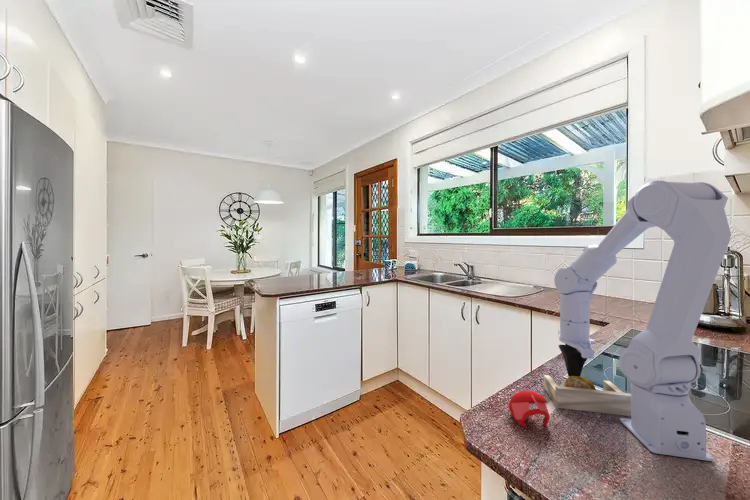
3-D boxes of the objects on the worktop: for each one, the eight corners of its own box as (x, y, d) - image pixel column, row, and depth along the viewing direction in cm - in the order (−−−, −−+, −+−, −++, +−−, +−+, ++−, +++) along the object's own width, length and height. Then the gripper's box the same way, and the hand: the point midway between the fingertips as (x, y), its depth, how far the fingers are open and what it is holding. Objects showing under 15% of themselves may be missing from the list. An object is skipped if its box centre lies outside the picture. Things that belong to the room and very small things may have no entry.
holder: (634, 416, 57) (634, 396, 57) (557, 407, 60) (557, 388, 60) (609, 394, 66) (609, 376, 66) (543, 387, 69) (543, 370, 69)
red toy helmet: (564, 416, 52) (547, 385, 57) (536, 408, 51) (522, 377, 56) (535, 437, 56) (521, 406, 61) (509, 430, 55) (497, 400, 60)
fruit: (547, 391, 67) (547, 375, 67) (569, 383, 71) (569, 368, 71) (586, 409, 60) (586, 391, 60) (608, 399, 63) (608, 382, 63)
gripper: (611, 330, 60) (610, 395, 60) (580, 313, 74) (580, 366, 74) (572, 327, 62) (571, 390, 62) (549, 312, 76) (549, 363, 76)
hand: (573, 377), depth 68 cm, fingers closed, pressing on fruit
